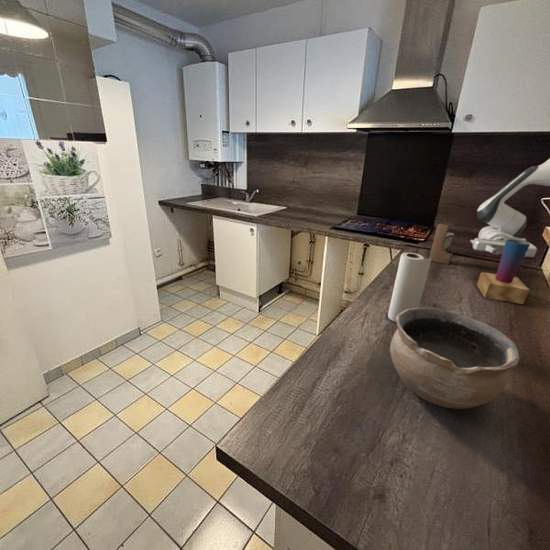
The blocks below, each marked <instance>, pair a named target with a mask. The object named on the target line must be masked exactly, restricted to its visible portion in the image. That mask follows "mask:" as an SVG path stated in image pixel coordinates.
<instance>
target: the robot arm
mask: <svg viewBox="0 0 550 550" xmlns="http://www.w3.org/2000/svg"><path fill="white" fill-rule="evenodd" d="M528 185H537V186H543V187H550V157H549V158H548V159H547V160H546V161H545V162H543V163H541V164H539V165H532V166H530V167H528V168H526V169H525V170H523V171H522V172H521V173H519V174H518V175H517V176H515V178H513V179H512V180H510V182H508V183H507V184H506V185H505V186H503V187H501V189H500V190H498V191H496V193H495V194H493V195H492V196H490V197H489V198H488V199H486V200H485V201H484V202H482V203H481V204H480V205H479V206H478V208H477V209H476V217H477V219H478V221H480V222H483V223H485V224H487V225H486V226H483V227H482V228H481V229H480V230H479V232H478V234H477V235H478V236H477V237H475V238H474V239H470V240H469V242H470V243H471V244H472V249H473V250H475V251H479V252H480V251H481V252H488V253H490V254H492V255H502V253H503V250H504V246H505V243H506V240H507V239H517V240H522V241H526V242H527V239H526V238H524V237H519V235H520V234H521V233H522V232H524V230H525V229H526V227H527V223H528V219H527V216H526V215H525V214H523V213H521V212H520V211H519V210H516V209H514V208H513V207H512V206H509V205H508V204H506V203H505V202H506V200H508V199H509V198H510V197H512V196H514V194H515V193H516V192H518V191H520V190H521V189H522V188H523V187H525V186H528ZM529 243H530V246H529V248H528V250H527V252H526V254H525V256H524V258H533V257H535V256H536V253H537V252H538V251H537V250H538V248H537V246H535V245H534V244H532V243H531V242H529Z"/></svg>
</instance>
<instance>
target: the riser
mask: <svg viewBox="0 0 550 550" xmlns="http://www.w3.org/2000/svg"><path fill="white" fill-rule="evenodd" d="M496 275H497V273H490V272H483V271H481V272H480V274H479V277H478V281H477V283H476V286H477V288H478V290H479V292H480V293H481V295H482V296H483V298H484V299H489V300H496V301H503V302H508V303H514V304H519V305H520V304H521V305H524V304H525V302H526V300H527V298H528V295H529V293H530V288H528V287H527V285H525V283H523V282H522V280H521V279H520V278H519V277H518V276H514V279H513V281H512V282H511V283H505V282H501V281H498V280H496V279H495V278H496Z"/></svg>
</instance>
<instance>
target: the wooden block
mask: <svg viewBox="0 0 550 550" xmlns="http://www.w3.org/2000/svg"><path fill="white" fill-rule="evenodd" d="M449 229H450V224H446V223H445V224H444V223H438V225H436V230H435V234H434V236H433V240H432V245H431V248H430V252H429V253H430V254H429V257H428V258H432V259H431V262H435V263H438V264H444V265H450V264H451V260H452V257H453V253H450V252H449V251H447V252H446V251H445V249H444V243H445V240H446V236H447V233H449Z"/></svg>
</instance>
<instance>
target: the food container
mask: <svg viewBox="0 0 550 550" xmlns="http://www.w3.org/2000/svg"><path fill="white" fill-rule="evenodd" d="M454 235H455V233H453V232H448V233H447V236H446V240H445V243H444V249H445V251H446V252H449V250H450V247H451V244H452V241H453V238H454Z"/></svg>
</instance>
